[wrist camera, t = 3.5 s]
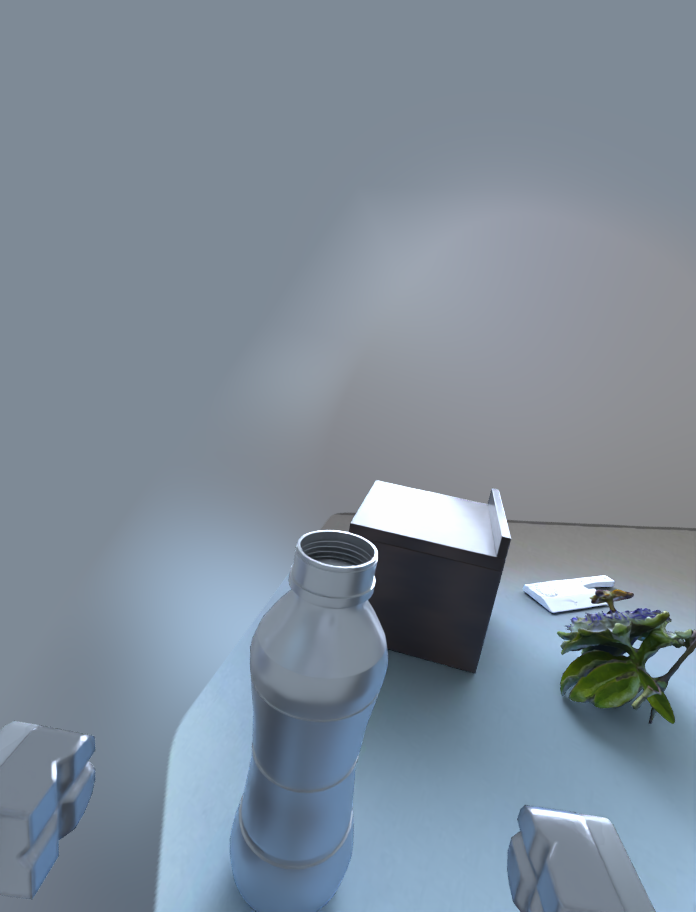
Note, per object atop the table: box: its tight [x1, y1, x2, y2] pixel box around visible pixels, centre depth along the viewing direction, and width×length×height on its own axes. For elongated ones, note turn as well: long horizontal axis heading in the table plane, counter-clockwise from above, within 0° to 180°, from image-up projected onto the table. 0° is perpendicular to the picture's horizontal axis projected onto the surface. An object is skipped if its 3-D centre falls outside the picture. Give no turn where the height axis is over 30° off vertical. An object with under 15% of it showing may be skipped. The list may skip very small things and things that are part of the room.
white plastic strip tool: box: [523, 575, 615, 613], centre depth 61 cm, size 5×15×1 cm, turn 113°
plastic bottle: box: [230, 530, 389, 912], centre depth 24 cm, size 6×7×20 cm
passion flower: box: [557, 589, 696, 724], centre depth 44 cm, size 11×11×12 cm
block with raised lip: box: [349, 481, 511, 673], centre depth 50 cm, size 14×14×14 cm
